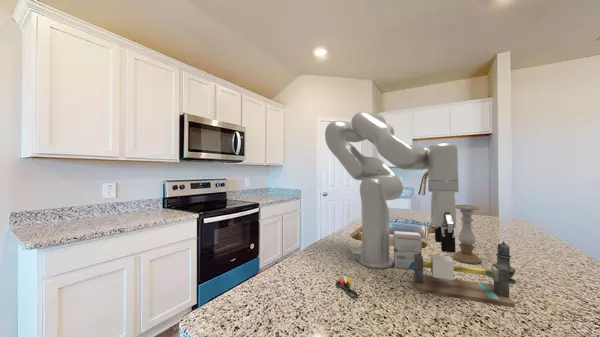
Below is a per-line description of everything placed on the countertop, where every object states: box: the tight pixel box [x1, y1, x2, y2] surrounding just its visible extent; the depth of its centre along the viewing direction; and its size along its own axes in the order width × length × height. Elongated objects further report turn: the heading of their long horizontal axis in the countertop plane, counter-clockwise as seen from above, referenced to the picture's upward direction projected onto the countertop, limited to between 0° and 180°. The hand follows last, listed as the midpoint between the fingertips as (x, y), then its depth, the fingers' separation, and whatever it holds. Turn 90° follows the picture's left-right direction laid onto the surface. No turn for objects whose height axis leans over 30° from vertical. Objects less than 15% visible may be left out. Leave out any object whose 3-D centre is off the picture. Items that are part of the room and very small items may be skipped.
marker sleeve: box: [430, 254, 455, 280], centre depth 70 cm, size 5×4×5 cm
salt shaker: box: [490, 240, 517, 284], centre depth 76 cm, size 6×6×12 cm
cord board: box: [412, 254, 516, 308], centre depth 69 cm, size 22×10×8 cm, turn 69°
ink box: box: [393, 230, 422, 270], centre depth 85 cm, size 9×5×12 cm, turn 72°
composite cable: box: [335, 275, 359, 300], centre depth 69 cm, size 10×5×2 cm, turn 5°
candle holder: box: [452, 204, 482, 265], centre depth 92 cm, size 9×9×20 cm
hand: (444, 246), depth 69 cm, fingers open, 9 cm apart
